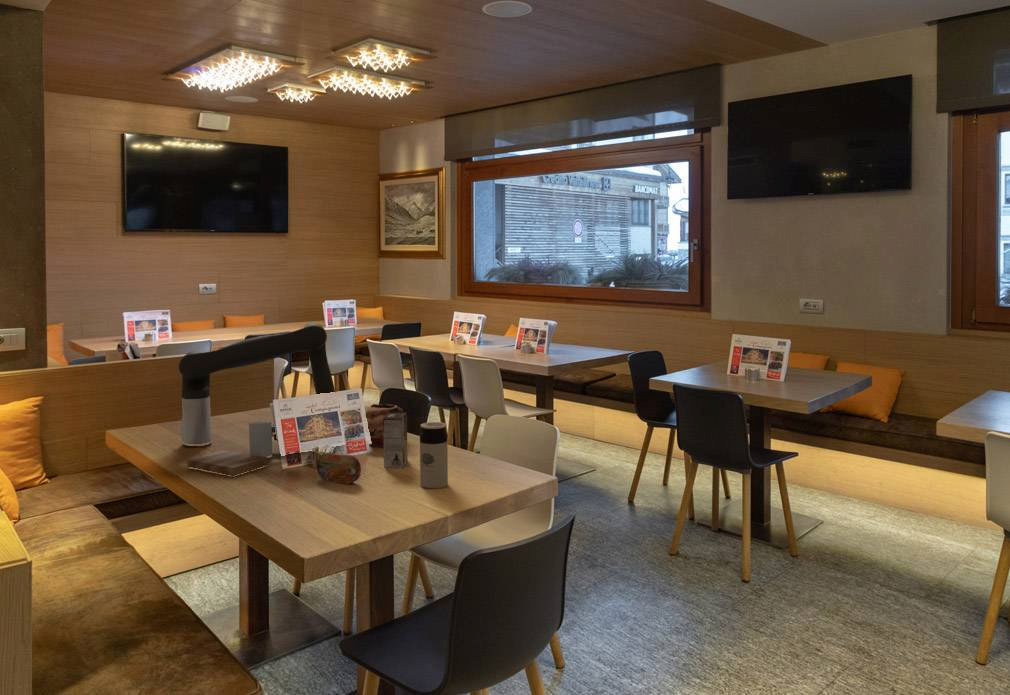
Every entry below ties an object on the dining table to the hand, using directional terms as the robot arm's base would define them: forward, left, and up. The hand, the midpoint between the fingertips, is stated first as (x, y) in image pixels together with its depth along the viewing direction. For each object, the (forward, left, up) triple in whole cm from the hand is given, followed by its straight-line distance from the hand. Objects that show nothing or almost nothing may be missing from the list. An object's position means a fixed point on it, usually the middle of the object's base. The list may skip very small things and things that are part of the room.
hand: (265, 436), depth 258 cm
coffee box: (+44, +13, -7) cm, 46 cm away
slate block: (0, -2, -7) cm, 7 cm away
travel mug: (+68, -1, -7) cm, 68 cm away
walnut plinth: (0, -16, -7) cm, 18 cm away
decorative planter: (+23, +34, -7) cm, 42 cm away
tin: (+41, -11, -7) cm, 43 cm away
